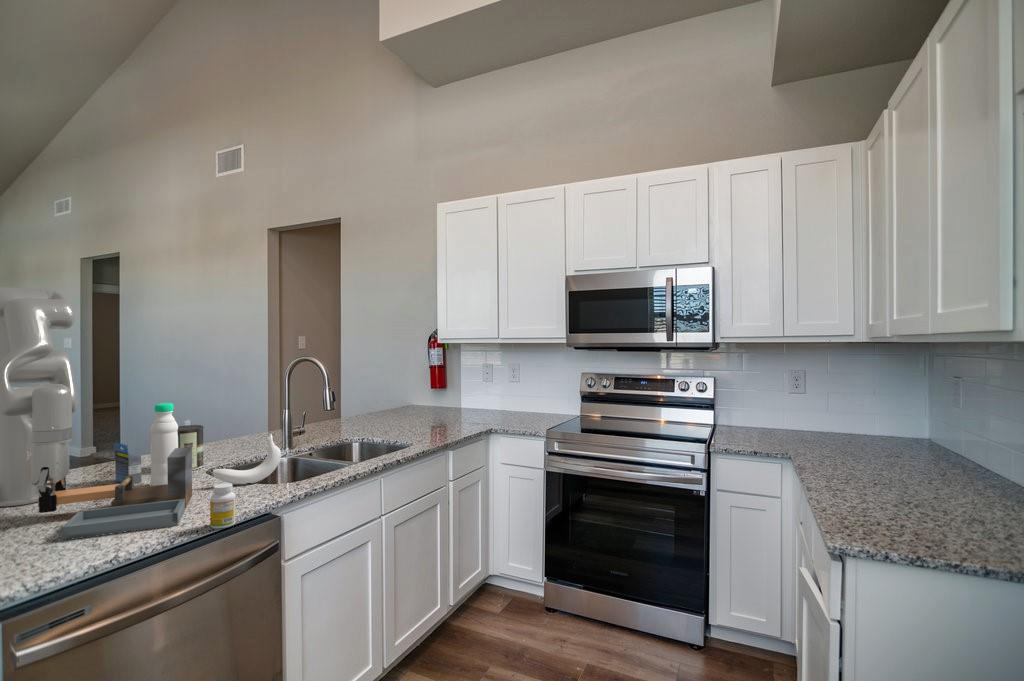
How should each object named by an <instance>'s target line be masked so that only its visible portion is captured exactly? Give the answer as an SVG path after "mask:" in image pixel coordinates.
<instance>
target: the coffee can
mask: <svg viewBox="0 0 1024 681" xmlns="http://www.w3.org/2000/svg"><path fill="white" fill-rule="evenodd" d="M177 433H178V448H185V447H192V470H194V471H197V470H196V469H198V470H200V469H199V468H201V469H203V468H204V466H205V465H204V425H201V424H200V425H199V424H192V425H190V424H188V425H178V430H177ZM202 467H203V468H202Z"/></svg>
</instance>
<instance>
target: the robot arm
mask: <svg viewBox="0 0 1024 681" xmlns="http://www.w3.org/2000/svg"><path fill="white" fill-rule="evenodd" d="M75 321H76V312H75V310H74V307H73V304H72V303H71V302H70V301H69V300H68V299H67V298H66V297H65V296H64V295H62V294H61V293H60V292H59V291H57V290H51V289H39V288H38V289H37V288H23V287H20V288H19V287H0V507H3V508H4V507H14V506H15V507H16V506H23V505H27V504H34V503H38V499H39V507H38V512H39V513H40V514H44V513H50V512H51V513H53V512H55V511H57V506H58V505H57V497H56V495H54V494H55V491H62V490H67V487H66V486H67V481H66V479H67V476H68V475H69V472H70V451H69V450H70V449H69V446H70V445H69V442H71V441H73V414H74V413H75V412H76V411H77V409H78V406H79V397H78V390H77V386H76V381H75V380H76V379H75V373H74V367H73V363H72V360H71V357H70V356H69V354H68V353H67V352H65V351H63V350H61V349H60V350H59V349H55V347H54V342H53V338H52V332H51V330H66V329H71V328H72V327H73V325H74V324H75ZM40 383H43V384H40ZM11 384H12V385H11ZM14 384H15V385H14ZM19 384H20V385H19ZM23 384H24V385H23Z"/></svg>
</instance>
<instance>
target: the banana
mask: <svg viewBox="0 0 1024 681" xmlns="http://www.w3.org/2000/svg"><path fill="white" fill-rule="evenodd" d="M265 441H266V442H267V444H268V446H269V447H268V452H267V453H266V454H267V455H266V456H265V459H264V460H263V461H262V462H261V463H259V464H258V465H257V466H255V467H253V468H250V469H244V470H241V469H240V470H237V469H232V468H215V469H213V471H212V476H213V477H215V478H216V479H218V480H220V481H223V482H224V483H231V484H232V485H247V484H246V483H251V484H255V483H258V482H260V481H262V480H264V479H266V478H268V477H269V476H270V475H271V474H272V473H273V472H274V471H275V470H276V469H277V467H278V465H279V464H280V461H281V456H282V450H280V448H279V447H278V446H277V445H276V444H275V443H274V441H273V435H272V433H271V432H270V433H269V434H268V436H267V438H266V439H265Z"/></svg>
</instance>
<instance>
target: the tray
mask: <svg viewBox="0 0 1024 681" xmlns="http://www.w3.org/2000/svg"><path fill="white" fill-rule="evenodd" d="M185 511H186V509H185V499H178V500H169V501H160V502H151V503H142V504H133V505H125V506H116V507H111V506H108V507H99V508H90V509H83V510H79V511H77V512H76V513H75V514H74V515H73V516H72V517H71V518H70V519H68V521H66V522H65V523H64V524H63V525H62V526H61V534H60V535H61V541H62V540H64V541H67V540H66V539H71V540H73V539H72V538H79V539H82V538H81V537H87V536H94V537H97V536H96V535H102V534H110V533H117V534H119V533H118V532H124V531H132V532H135V531H134V530H140V531H145V530H146V529H148V530H153V529H154V528H155V529H163V528H169V527H176V526H177V527H178V526H179V523H180V521H181V519H182V517H183V515H184V513H185ZM155 529H154V530H155ZM146 531H147V530H146ZM110 535H111V534H110ZM102 536H103V535H102ZM87 538H88V537H87Z"/></svg>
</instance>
